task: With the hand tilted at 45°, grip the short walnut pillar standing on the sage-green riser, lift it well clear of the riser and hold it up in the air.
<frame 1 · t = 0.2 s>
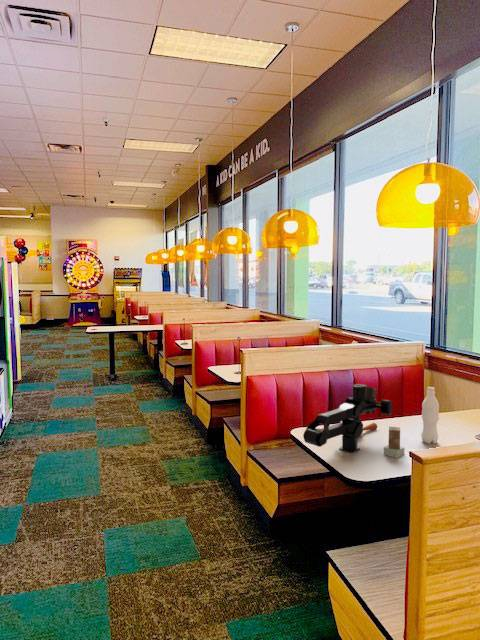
hand: (382, 402, 224), 16 cm above the table, tool horizontal, fingers open, 9 cm apart
kendama: (363, 434, 229), on the table
green riser: (393, 454, 203), on the table
water bottle: (429, 442, 217), on the table
walnut pillar: (394, 447, 203), point 3 cm above the table, touching green riser
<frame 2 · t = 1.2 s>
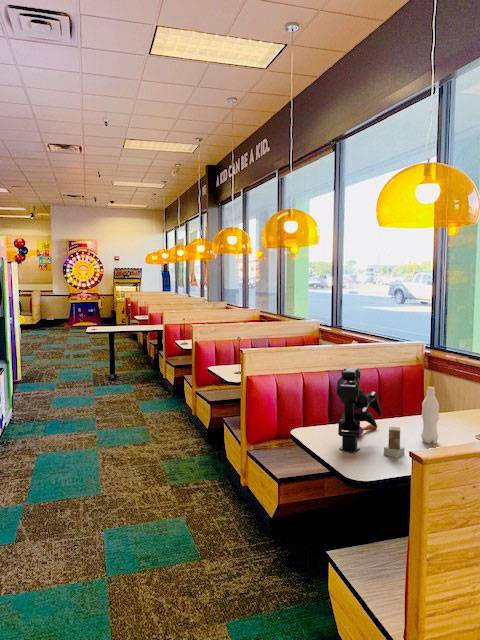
hand: (378, 420, 214), 11 cm above the table, tool tilted 40°, fingers open, 9 cm apart
nothing on the table moved.
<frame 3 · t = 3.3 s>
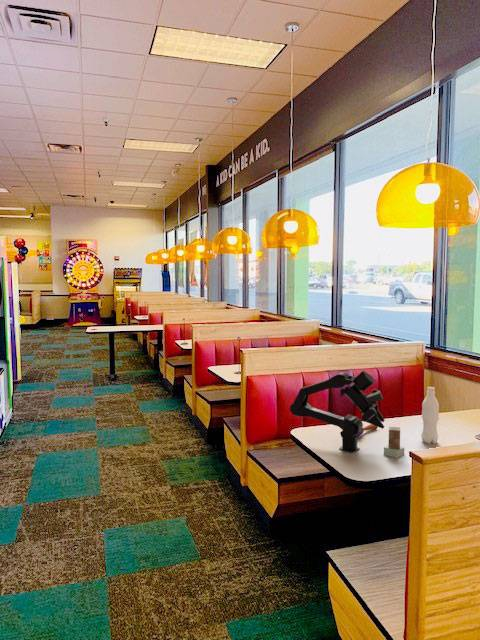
hand: (383, 424, 203), 12 cm above the table, tool tilted 45°, fingers open, 9 cm apart
nothing on the table moved.
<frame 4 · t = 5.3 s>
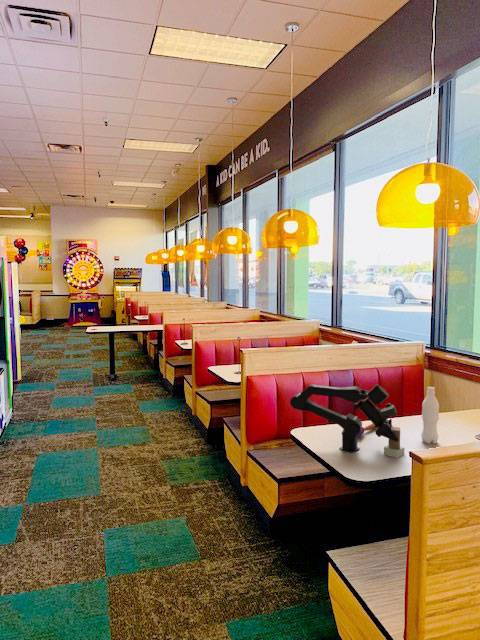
hand: (397, 439, 202), 7 cm above the table, tool tilted 45°, fingers closed on walnut pillar, 4 cm apart
walnut pillar: (394, 447, 203), point 3 cm above the table, touching green riser, gripper
everything else where it was.
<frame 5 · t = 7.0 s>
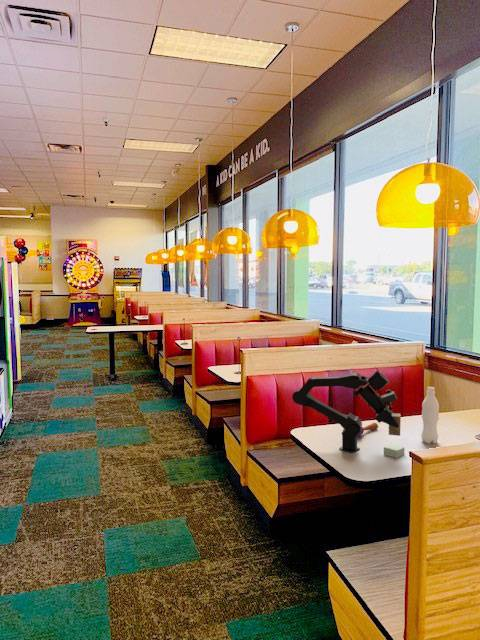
hand: (398, 425, 201), 13 cm above the table, tool tilted 45°, fingers closed on walnut pillar, 4 cm apart
walnut pillar: (394, 433, 202), point 9 cm above the table, touching gripper
everything else where it was.
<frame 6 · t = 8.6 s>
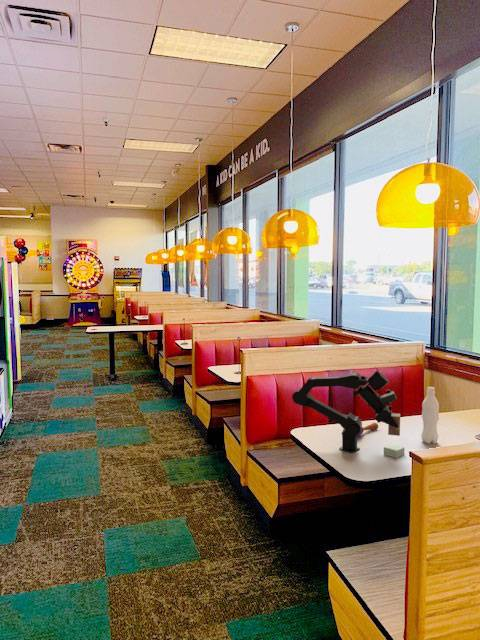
hand: (397, 425, 201), 12 cm above the table, tool tilted 45°, fingers closed on walnut pillar, 4 cm apart
walnut pillar: (394, 433, 202), point 9 cm above the table, touching gripper
everything else where it was.
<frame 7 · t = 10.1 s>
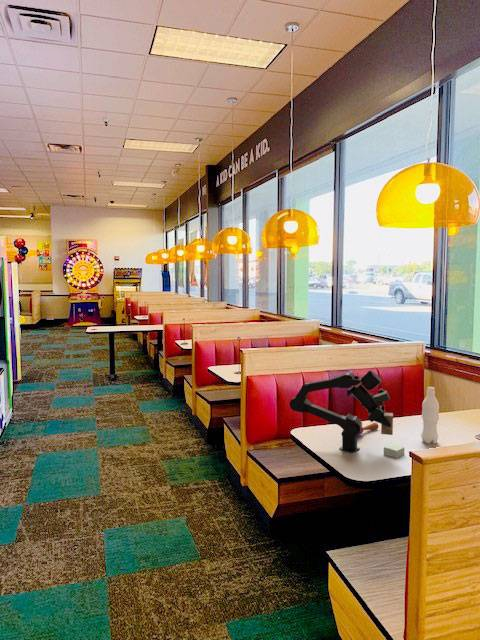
hand: (390, 424, 202), 13 cm above the table, tool tilted 45°, fingers closed on walnut pillar, 4 cm apart
walnut pillar: (386, 432, 203), point 9 cm above the table, touching gripper
everything else where it was.
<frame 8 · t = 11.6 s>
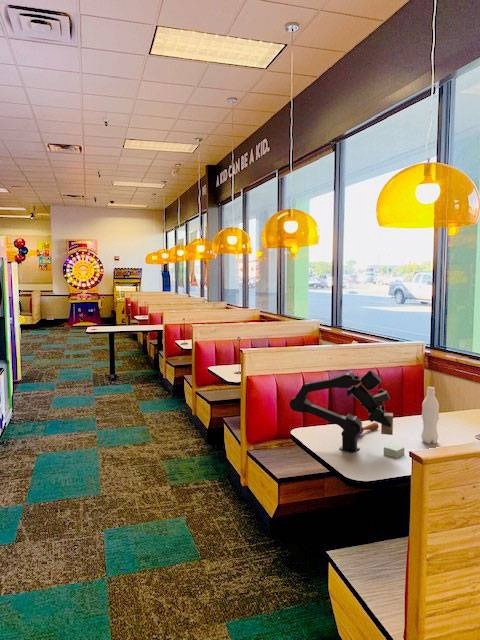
hand: (390, 424, 202), 13 cm above the table, tool tilted 45°, fingers closed on walnut pillar, 4 cm apart
walnut pillar: (386, 432, 203), point 9 cm above the table, touching gripper
everything else where it was.
at the end: the gripper is holding walnut pillar; walnut pillar point 8.9 cm above the table; walnut pillar tilted 0° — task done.
